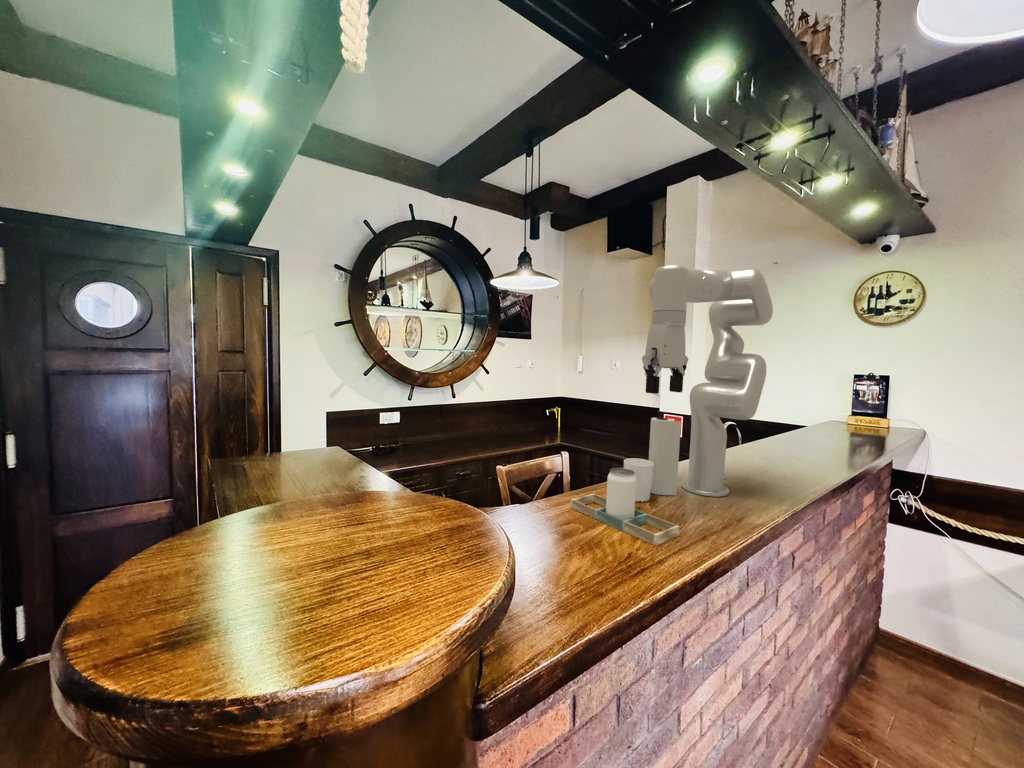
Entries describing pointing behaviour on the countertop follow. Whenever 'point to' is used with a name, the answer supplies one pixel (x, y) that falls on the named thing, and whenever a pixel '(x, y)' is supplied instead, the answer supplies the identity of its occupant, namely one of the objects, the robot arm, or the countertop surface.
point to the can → (621, 493)
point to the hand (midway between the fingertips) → (664, 392)
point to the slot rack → (628, 520)
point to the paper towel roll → (664, 455)
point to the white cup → (641, 476)
